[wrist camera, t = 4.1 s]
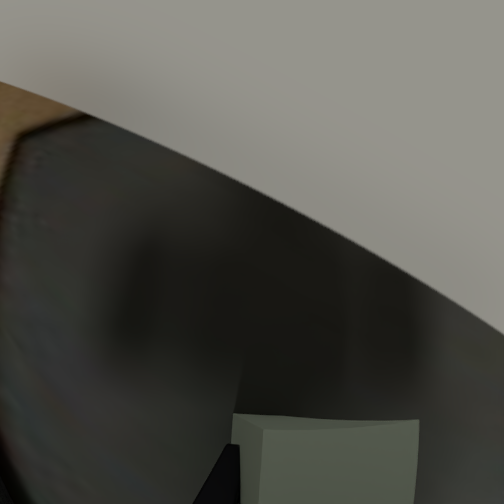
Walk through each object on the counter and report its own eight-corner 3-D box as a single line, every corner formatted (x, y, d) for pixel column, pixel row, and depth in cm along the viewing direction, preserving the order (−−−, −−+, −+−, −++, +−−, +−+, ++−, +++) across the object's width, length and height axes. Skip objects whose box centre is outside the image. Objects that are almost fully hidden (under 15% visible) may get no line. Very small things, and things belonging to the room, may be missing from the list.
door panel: (276, 503, 12) (379, 634, 2) (227, 502, 12) (243, 655, 1) (282, 415, 15) (419, 419, 4) (233, 413, 14) (263, 428, 4)
